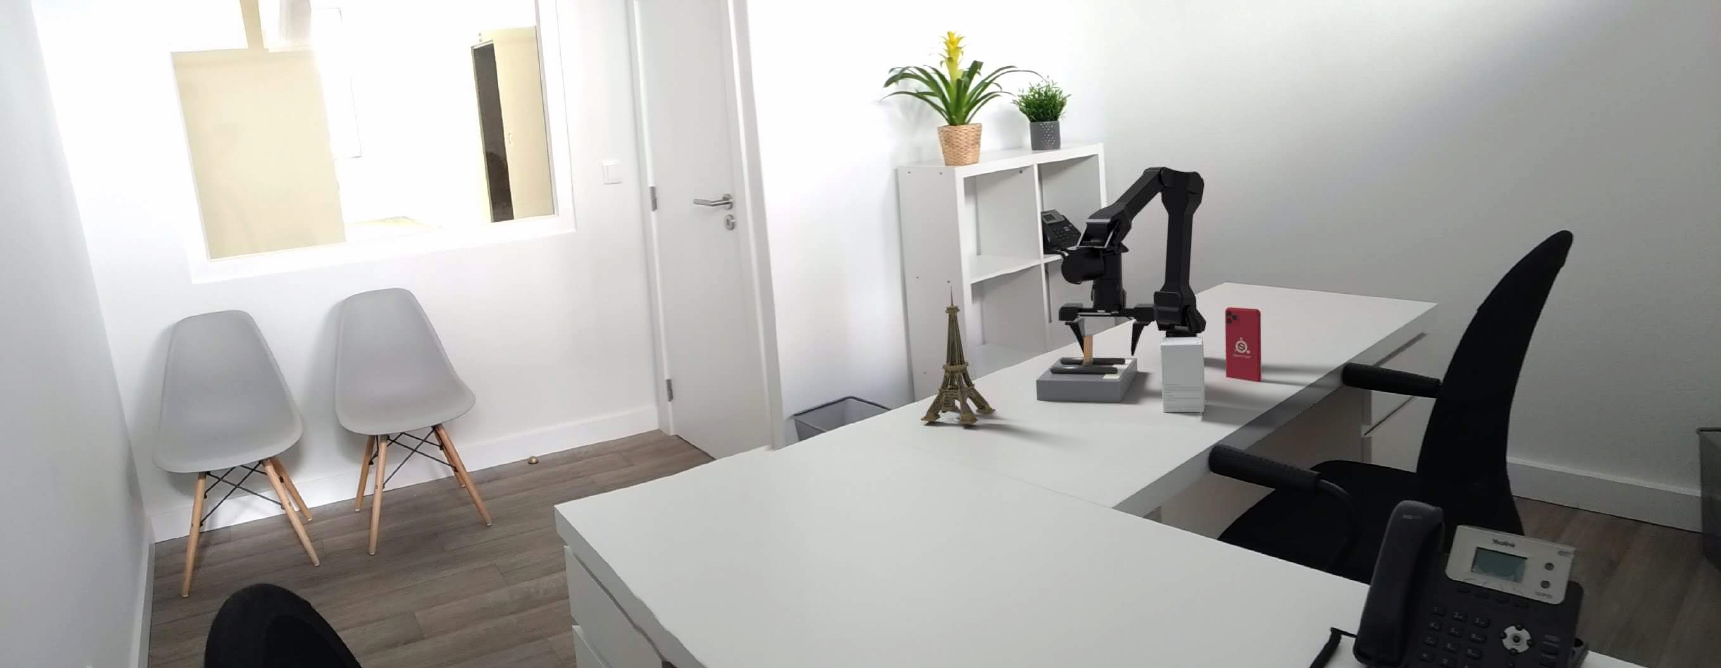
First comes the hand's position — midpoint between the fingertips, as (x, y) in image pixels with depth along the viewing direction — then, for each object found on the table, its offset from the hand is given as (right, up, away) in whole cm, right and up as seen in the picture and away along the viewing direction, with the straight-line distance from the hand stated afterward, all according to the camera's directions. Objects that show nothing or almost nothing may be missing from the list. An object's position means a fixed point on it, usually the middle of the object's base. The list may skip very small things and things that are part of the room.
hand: (1108, 354), depth 215 cm
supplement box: (+10, -10, -18) cm, 22 cm away
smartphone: (+26, -6, -2) cm, 27 cm away
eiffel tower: (-31, -11, -11) cm, 35 cm away
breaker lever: (-4, -3, +2) cm, 5 cm away
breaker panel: (-3, -7, +3) cm, 8 cm away
